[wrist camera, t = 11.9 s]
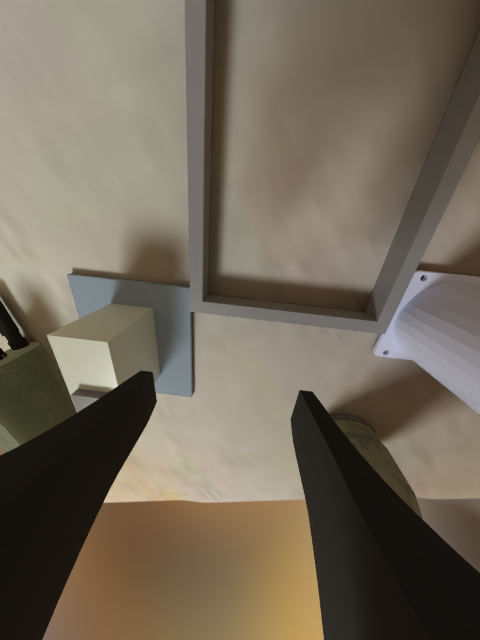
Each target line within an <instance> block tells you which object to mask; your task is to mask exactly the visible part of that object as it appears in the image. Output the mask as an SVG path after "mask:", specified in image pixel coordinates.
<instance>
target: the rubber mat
mask: <svg viewBox="0 0 480 640" xmlns="http://www.w3.org/2000/svg"><path fill="white" fill-rule="evenodd" d="M67 277H68V281H69V284H70V288H71V291H72V294H73V298H74V301H75V305H76V308H77V312H78V315H79V318H82V317H84V316H86V315H88V314H90V313H92V312H94V311H96V310H98V309H100V308H102V307H104V306H106V305H108V304H110V303H112V304H121V305H130V306H139V307H147V308H153V314H154V323H155V332H156V341H157V350H158V359H159V368H160V377H159V378H158V380H157V381H156V383H155V392H156V393H162V394H170V395H178V396H186V397H192V395H193V366H192V312H190V287H187V286H178V285H169V284H161V283H152V282H143V281H134V280H125V279H117V278H108V277H99V276H90V275H81V274H72V273H71V274H67Z"/></svg>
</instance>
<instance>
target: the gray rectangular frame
mask: <svg viewBox="0 0 480 640" xmlns="http://www.w3.org/2000/svg"><path fill="white" fill-rule="evenodd" d="M214 20H215V0H185V38H186V95H187V151H188V208H189V265H190V312H198V313H207V314H215V315H224V316H233V317H241V318H250V319H258V320H267V321H276V322H284V323H293V324H301V325H310V326H319V327H327V328H336V329H344V330H353V331H362V332H370V333H379V334H385V333H386V331H387V329H388V327H389V325H390V323H391V321H392V319H393V317H394V314H395V312H396V310H397V308H398V306H399V304H400V302H401V300H402V298H403V296H404V294H405V292H406V290H407V288H408V286H409V283H410V281H411V279H412V277H413V275H414V273H415V271H416V269H417V267H418V265H419V263H420V261H421V259H422V257H423V254H424V252H425V250H426V248H427V246H428V244H429V242H430V240H431V238H432V236H433V234H434V232H435V230H436V228H437V225H438V223H439V221H440V219H441V217H442V215H443V213H444V211H445V209H446V207H447V205H448V203H449V201H450V199H451V197H452V194H453V192H454V190H455V188H456V186H457V184H458V182H459V180H460V178H461V176H462V174H463V172H464V170H465V168H466V165H467V163H468V161H469V159H470V157H471V155H472V153H473V151H474V149H475V147H476V145H477V143H478V141H479V139H480V29H479V31H478V34H477V36H476V39H475V41H474V43H473V46H472V48H471V51H470V53H469V56H468V58H467V61H466V63H465V66H464V68H463V71H462V73H461V75H460V78H459V80H458V83H457V85H456V88H455V90H454V93H453V95H452V98H451V100H450V103H449V105H448V107H447V110H446V112H445V115H444V117H443V120H442V122H441V125H440V127H439V130H438V132H437V134H436V137H435V139H434V142H433V144H432V147H431V149H430V152H429V154H428V157H427V159H426V162H425V164H424V166H423V169H422V171H421V174H420V176H419V179H418V181H417V184H416V186H415V189H414V191H413V193H412V196H411V198H410V201H409V203H408V206H407V208H406V211H405V213H404V216H403V218H402V221H401V223H400V225H399V228H398V230H397V233H396V235H395V238H394V240H393V243H392V245H391V248H390V250H389V253H388V255H387V257H386V260H385V262H384V265H383V267H382V270H381V272H380V275H379V277H378V280H377V282H376V284H375V287H374V289H373V292H372V294H371V297H370V299H369V302H368V304H367V307H366V309H365V312H359V311H351V310H342V309H333V308H324V307H315V306H307V305H298V304H289V303H280V302H272V301H263V300H254V299H245V298H236V297H228V296H219V295H210V294H208V268H209V227H210V185H211V144H212V103H213V61H214Z"/></svg>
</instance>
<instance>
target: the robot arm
mask: <svg viewBox="0 0 480 640" xmlns="http://www.w3.org/2000/svg"><path fill="white" fill-rule="evenodd" d="M423 275H424V277H423V279H421V280H420V278H421V277H422V276H423ZM384 351H386V352H384ZM383 352H384V353H383ZM373 353H374V354H375V355H376V356H381V357H389V358H398V359H406V360H413V361H414V362H416V363H417V364H418V365H419V366H420V367H422V368H423V369H424V370H425V371H427V372H428V373H429V374H430V375H431V376H433V377H434V378H435V379H436V380H438V381H439V382H440V383H441V384H443V385H444V386H445V387H446V388H447V389H449V390H450V391H451V392H452V393H454V394H455V395H456V396H457V397H459V398H460V399H461V400H462V401H463V402H465V403H466V404H467V405H468V406H470V407H471V408H472V409H473V410H475V411H476V412H477V413H478V414H479V415H480V277H478V276H469V275H459V274H450V273H441V272H432V271H422V270H416V271H415V273H414V275H413V277H412V279H411V281H410V283H409V286H408V288H407V290H406V292H405V294H404V296H403V298H402V300H401V302H400V304H399V306H398V308H397V310H396V312H395V314H394V317H393V319H392V321H391V323H390V325H389V327H388V329H387V331H386V333H385V334H380V336H379V338H378V340H377V342H376V344H375V346H374V349H373ZM156 402H157V400H156V392H155V384H154V377H153V372H150V371H142V370H141V371H139V372H138V373H136V374H135V375H133V376H132V377H130V378H129V379H127V380H126V381H124V382H123V383H121V384H120V385H119V386H117V387H116V388H114V389H113V390H111V391H110V392H108V393H107V394H105V395H104V396H102V397H101V398H99V399H98V400H96V401H95V402H93V403H92V404H90V405H89V406H87V407H85V408H84V409H82V410H81V411H79V412H77V413H76V414H74V415H73V416H71V417H69V418H68V419H66V420H65V421H63V422H61V423H60V424H58V425H56V426H54V427H53V428H51V429H49V430H47V431H46V432H44V433H42V434H40V435H38V436H37V437H35V438H33V439H31V440H29V441H28V442H26V443H24V444H22V445H20V446H18V447H16V448H14V449H12V450H10V451H8V452H6V453H4V454H2V455H0V640H42V639H43V636H44V634H45V632H46V629H47V627H48V624H49V622H50V620H51V617H52V615H53V612H54V610H55V607H56V605H57V603H58V600H59V598H60V596H61V594H62V591H63V589H64V587H65V584H66V582H67V580H68V578H69V575H70V573H71V571H72V569H73V566H74V564H75V562H76V560H77V557H78V555H79V552H80V551H81V548H82V546H83V544H84V542H85V540H86V538H87V536H88V533H89V531H90V529H91V527H92V524H93V523H94V521H95V518H96V516H97V514H98V512H99V510H100V508H101V506H102V504H103V502H104V500H105V498H106V496H107V494H108V492H109V490H110V488H111V486H112V484H113V482H114V480H115V478H116V476H117V475H118V473H119V471H120V470H121V468H122V466H123V464H124V463H125V461H126V459H127V458H128V456H129V454H130V452H131V451H132V449H133V447H134V446H135V444H136V442H137V440H138V439H139V437H140V435H141V433H142V432H143V430H144V428H145V426H146V425H147V423H148V421H149V419H150V416H151V414H152V412H153V410H154V407H155V405H156ZM291 427H292V436H293V443H294V448H295V453H296V458H297V462H298V467H299V471H300V476H301V481H302V485H303V490H304V494H305V499H306V504H307V509H308V515H309V522H310V529H311V536H312V543H313V550H314V558H315V565H316V573H317V581H318V589H319V598H320V607H321V615H322V625H323V633H324V640H480V573H479V572H478V571H477V570H476V569H475V568H473V567H472V566H471V565H470V564H469V563H468V562H467V561H466V560H465V559H464V558H462V557H461V556H460V555H459V554H458V553H457V552H456V551H455V550H454V549H453V548H452V547H451V546H450V545H448V544H447V543H446V542H445V541H444V540H443V539H442V538H441V537H440V536H439V535H438V534H437V533H436V532H435V531H434V530H433V529H432V528H431V527H430V526H429V525H428V524H427V523H426V522H425V521H423V520H422V519H421V518H420V517H419V516H418V515H417V514H416V513H415V512H414V511H413V510H412V509H411V508H410V507H409V506H408V505H407V504H406V503H405V502H404V501H403V500H402V499H401V498H400V497H399V496H398V494H397V493H396V492H395V491H394V490H393V489H392V488H391V487H390V486H389V485H388V484H387V483H386V482H385V481H384V480H383V479H382V478H381V476H380V475H379V474H378V473H377V472H376V471H375V470H374V469H373V468H372V467H371V465H370V464H369V463H368V462H367V461H366V460H365V458H364V457H363V456H362V455H361V454H360V453H359V451H358V450H357V449H356V448H355V447H354V445H353V444H352V443H351V442H350V441H349V439H348V438H347V437H346V435H345V434H344V433H343V432H342V430H341V429H340V428H339V427H338V425H337V424H336V423H335V421H334V420H333V419H332V417H331V416H330V415H329V413H328V412H327V411H326V409H325V408H324V407H323V405H322V404H321V403H320V401H319V400H318V399H317V397H316V396H315V395H314V393H313V392H310V391H302V390H300V391H299V394H298V397H297V401H296V404H295V407H294V410H293V414H292V417H291Z"/></svg>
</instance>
